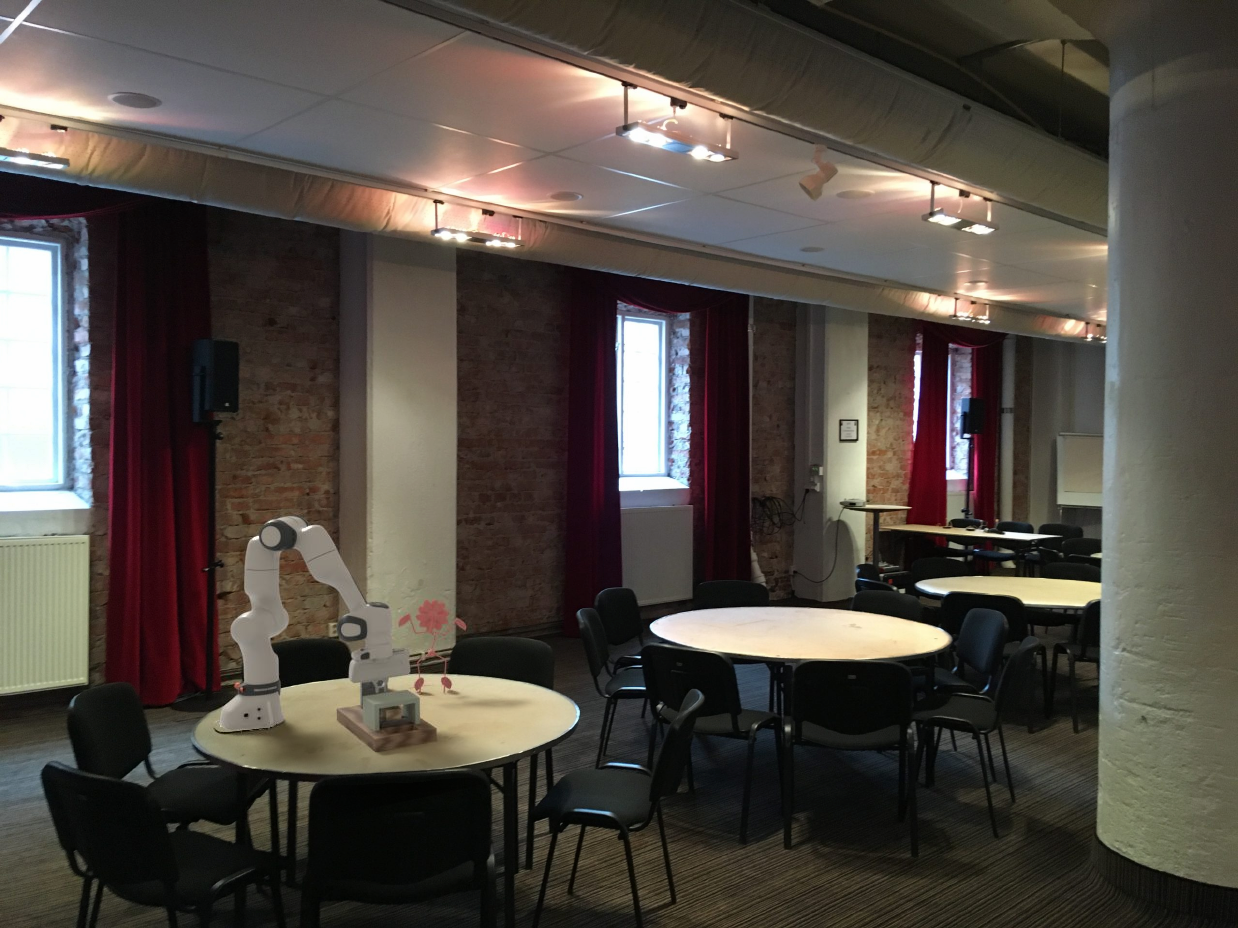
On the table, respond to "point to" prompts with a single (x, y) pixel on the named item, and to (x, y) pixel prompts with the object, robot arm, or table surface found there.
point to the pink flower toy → (432, 618)
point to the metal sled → (369, 689)
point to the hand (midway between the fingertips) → (380, 691)
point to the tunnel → (388, 700)
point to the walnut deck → (386, 731)
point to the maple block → (390, 713)
